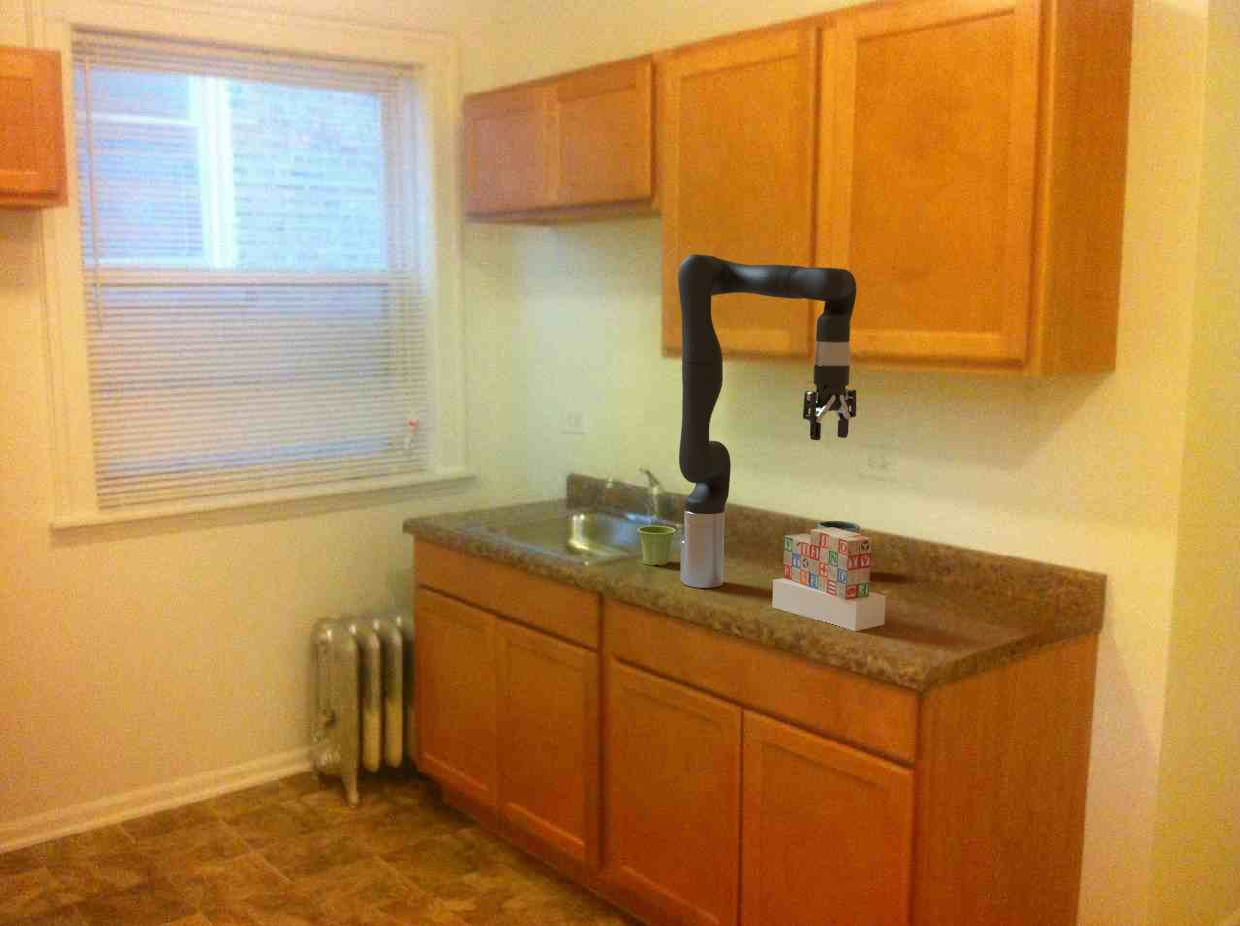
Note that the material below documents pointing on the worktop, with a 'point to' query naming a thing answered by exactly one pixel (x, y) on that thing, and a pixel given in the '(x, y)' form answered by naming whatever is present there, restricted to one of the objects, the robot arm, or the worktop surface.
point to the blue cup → (840, 525)
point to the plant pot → (656, 544)
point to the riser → (829, 605)
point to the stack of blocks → (830, 561)
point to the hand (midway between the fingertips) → (829, 438)
